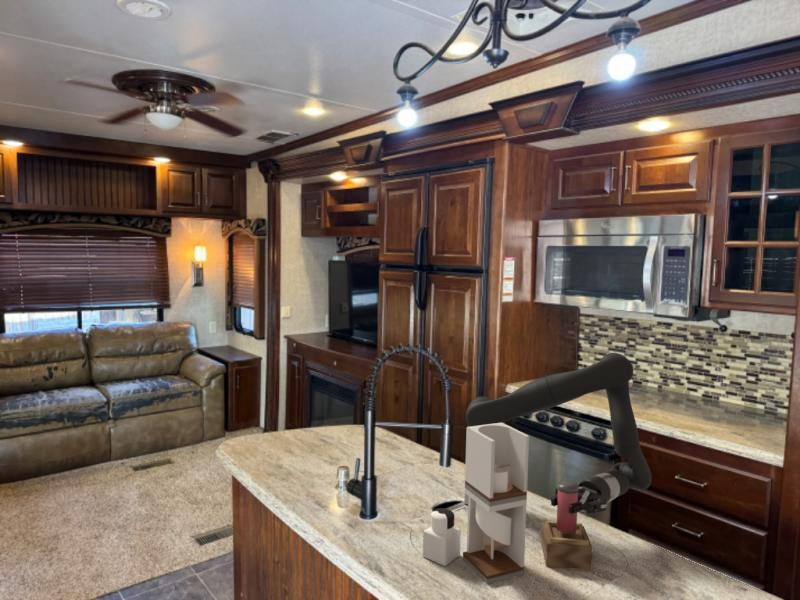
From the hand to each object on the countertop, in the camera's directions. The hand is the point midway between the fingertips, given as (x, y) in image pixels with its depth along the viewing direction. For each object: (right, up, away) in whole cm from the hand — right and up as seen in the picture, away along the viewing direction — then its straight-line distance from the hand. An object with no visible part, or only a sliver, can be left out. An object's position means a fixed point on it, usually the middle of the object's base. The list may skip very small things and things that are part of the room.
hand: (561, 505), depth 142 cm
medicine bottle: (-31, -14, +2) cm, 34 cm away
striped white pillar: (-18, -15, -3) cm, 23 cm away
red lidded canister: (+2, -7, +2) cm, 7 cm away
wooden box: (+2, -14, +3) cm, 15 cm away
